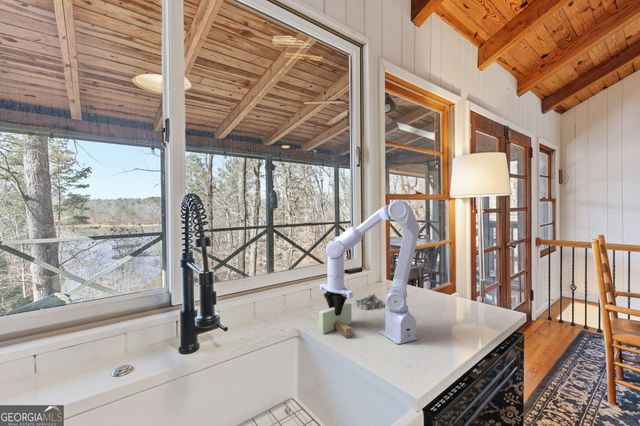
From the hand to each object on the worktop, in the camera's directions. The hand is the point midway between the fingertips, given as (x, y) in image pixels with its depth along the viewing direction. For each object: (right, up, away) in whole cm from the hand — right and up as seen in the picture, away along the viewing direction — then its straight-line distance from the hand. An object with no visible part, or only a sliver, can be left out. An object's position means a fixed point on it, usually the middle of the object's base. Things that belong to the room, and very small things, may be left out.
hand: (335, 314), depth 102 cm
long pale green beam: (0, -5, 0) cm, 5 cm away
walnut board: (0, -5, 0) cm, 5 cm away
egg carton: (+15, -5, +22) cm, 27 cm away
